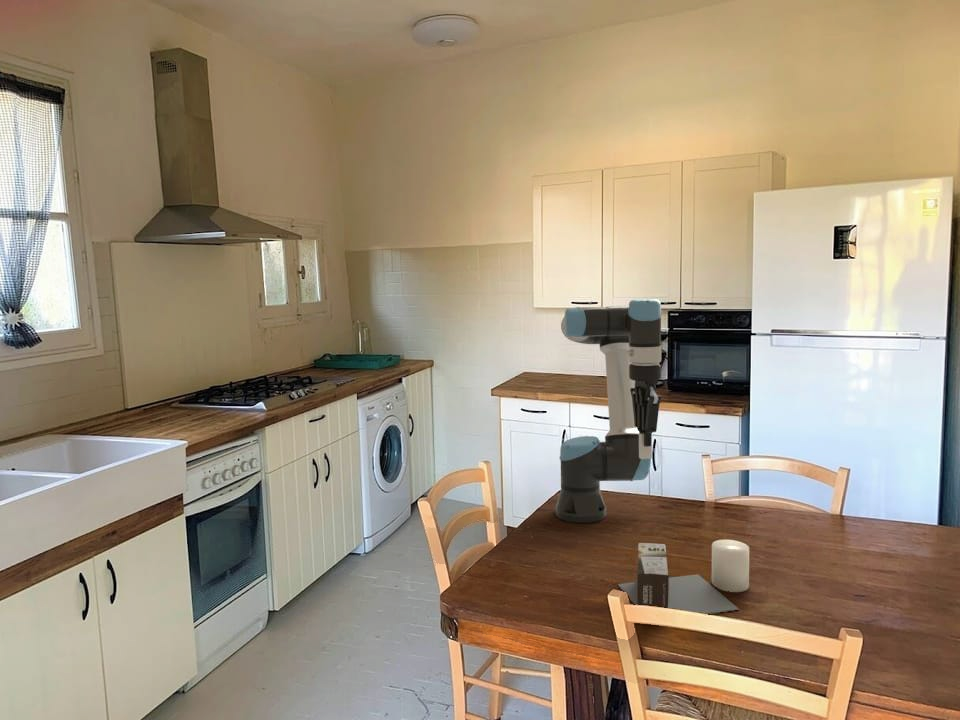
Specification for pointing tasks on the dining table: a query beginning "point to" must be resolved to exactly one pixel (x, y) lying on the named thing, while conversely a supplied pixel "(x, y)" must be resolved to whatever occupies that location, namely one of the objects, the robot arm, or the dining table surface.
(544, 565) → the dining table surface
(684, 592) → the mat
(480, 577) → the dining table surface
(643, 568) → the coffee box
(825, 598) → the dining table surface
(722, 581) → the white rounded cylinder
